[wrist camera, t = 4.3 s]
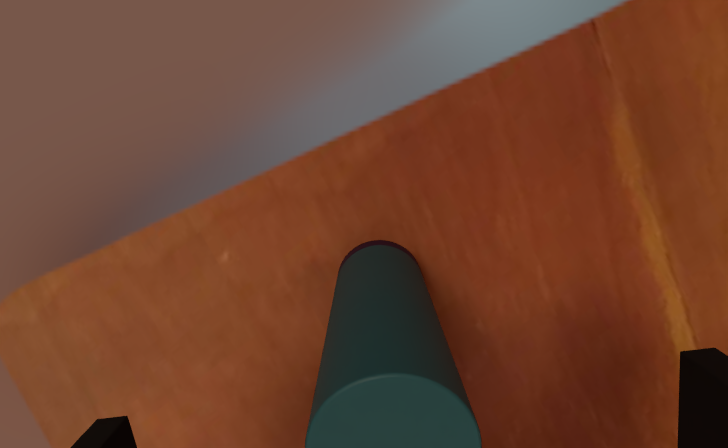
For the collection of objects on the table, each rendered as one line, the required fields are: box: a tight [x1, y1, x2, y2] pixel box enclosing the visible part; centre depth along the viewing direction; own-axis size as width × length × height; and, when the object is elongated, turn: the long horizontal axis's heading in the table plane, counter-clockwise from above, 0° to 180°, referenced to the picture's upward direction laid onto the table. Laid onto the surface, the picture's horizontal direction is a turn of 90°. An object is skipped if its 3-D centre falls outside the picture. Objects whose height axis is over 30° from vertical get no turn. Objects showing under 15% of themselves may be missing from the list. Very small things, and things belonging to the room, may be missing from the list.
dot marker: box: [305, 240, 482, 448], centre depth 15 cm, size 4×4×11 cm
